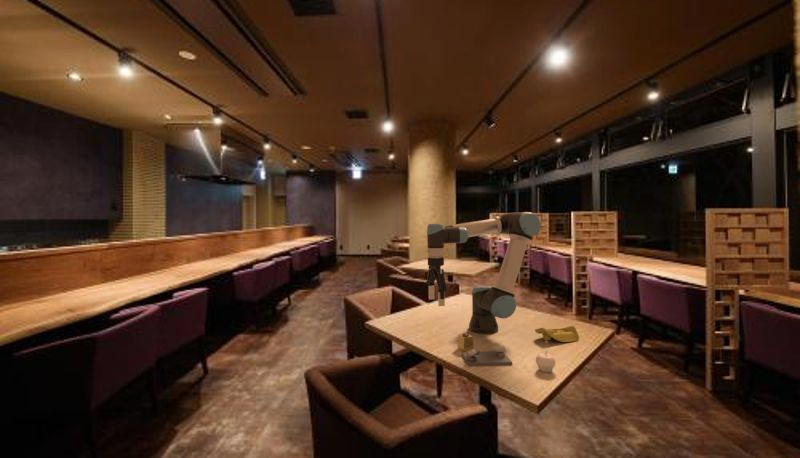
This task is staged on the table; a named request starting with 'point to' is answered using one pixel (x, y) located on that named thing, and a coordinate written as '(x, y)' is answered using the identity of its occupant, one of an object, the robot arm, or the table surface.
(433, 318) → the table surface
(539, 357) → the plain white apple
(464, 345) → the orange rectangular block
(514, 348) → the table surface
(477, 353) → the shaft
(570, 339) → the plastic component
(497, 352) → the bolted mounting plate
